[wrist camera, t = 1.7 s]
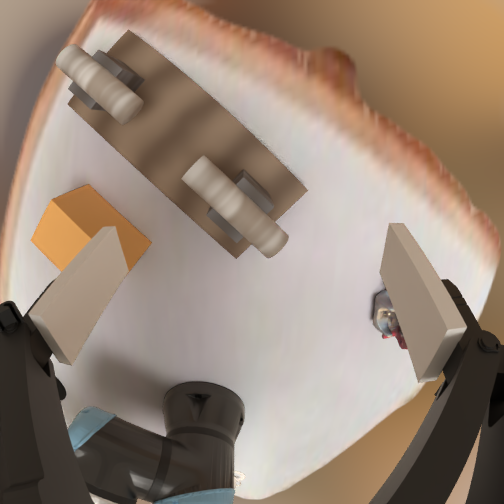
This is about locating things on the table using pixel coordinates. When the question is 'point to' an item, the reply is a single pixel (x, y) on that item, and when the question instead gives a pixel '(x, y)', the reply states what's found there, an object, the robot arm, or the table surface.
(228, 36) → the table surface
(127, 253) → the box
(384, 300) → the brake caliper
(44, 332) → the robot arm
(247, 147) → the shaft stand
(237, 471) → the teacup and saucer
